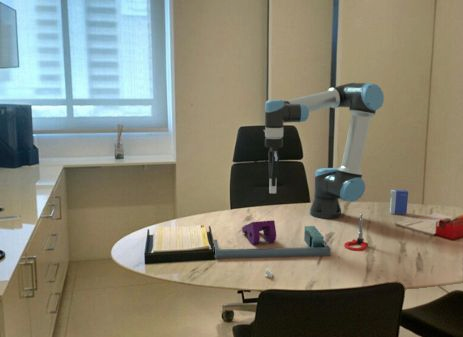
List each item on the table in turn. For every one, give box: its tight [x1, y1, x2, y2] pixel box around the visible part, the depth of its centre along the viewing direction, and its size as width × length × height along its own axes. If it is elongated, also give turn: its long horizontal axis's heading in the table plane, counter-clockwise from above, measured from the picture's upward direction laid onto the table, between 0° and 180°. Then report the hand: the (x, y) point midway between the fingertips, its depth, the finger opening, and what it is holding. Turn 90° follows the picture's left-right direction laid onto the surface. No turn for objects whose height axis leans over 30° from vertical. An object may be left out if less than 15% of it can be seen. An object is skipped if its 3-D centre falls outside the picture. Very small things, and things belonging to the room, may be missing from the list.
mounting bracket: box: [241, 220, 277, 246], centre depth 201 cm, size 9×8×18 cm
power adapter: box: [264, 267, 274, 278], centre depth 163 cm, size 3×3×3 cm
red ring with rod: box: [343, 213, 369, 252], centre depth 192 cm, size 8×13×9 cm
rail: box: [212, 225, 331, 260], centre depth 192 cm, size 44×24×6 cm, turn 95°
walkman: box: [389, 189, 409, 215], centre depth 241 cm, size 8×3×12 cm, turn 88°
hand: (272, 192), depth 205 cm, fingers closed
